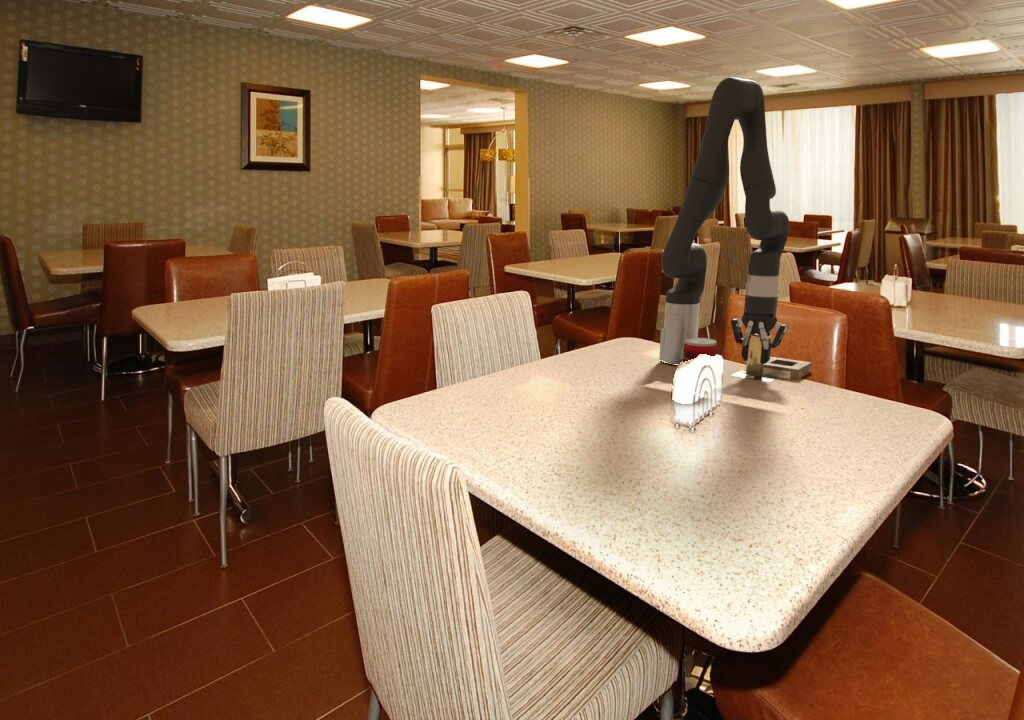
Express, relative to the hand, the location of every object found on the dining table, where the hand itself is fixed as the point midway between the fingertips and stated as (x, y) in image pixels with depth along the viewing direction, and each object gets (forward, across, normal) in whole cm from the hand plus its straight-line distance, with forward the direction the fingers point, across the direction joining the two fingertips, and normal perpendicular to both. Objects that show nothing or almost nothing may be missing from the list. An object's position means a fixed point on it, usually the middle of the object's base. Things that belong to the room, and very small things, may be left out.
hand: (755, 361), depth 168 cm
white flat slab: (+5, 0, 0) cm, 5 cm away
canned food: (+6, -10, -11) cm, 16 cm away
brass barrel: (+3, 0, 0) cm, 3 cm away
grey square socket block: (+5, +4, +9) cm, 11 cm away
